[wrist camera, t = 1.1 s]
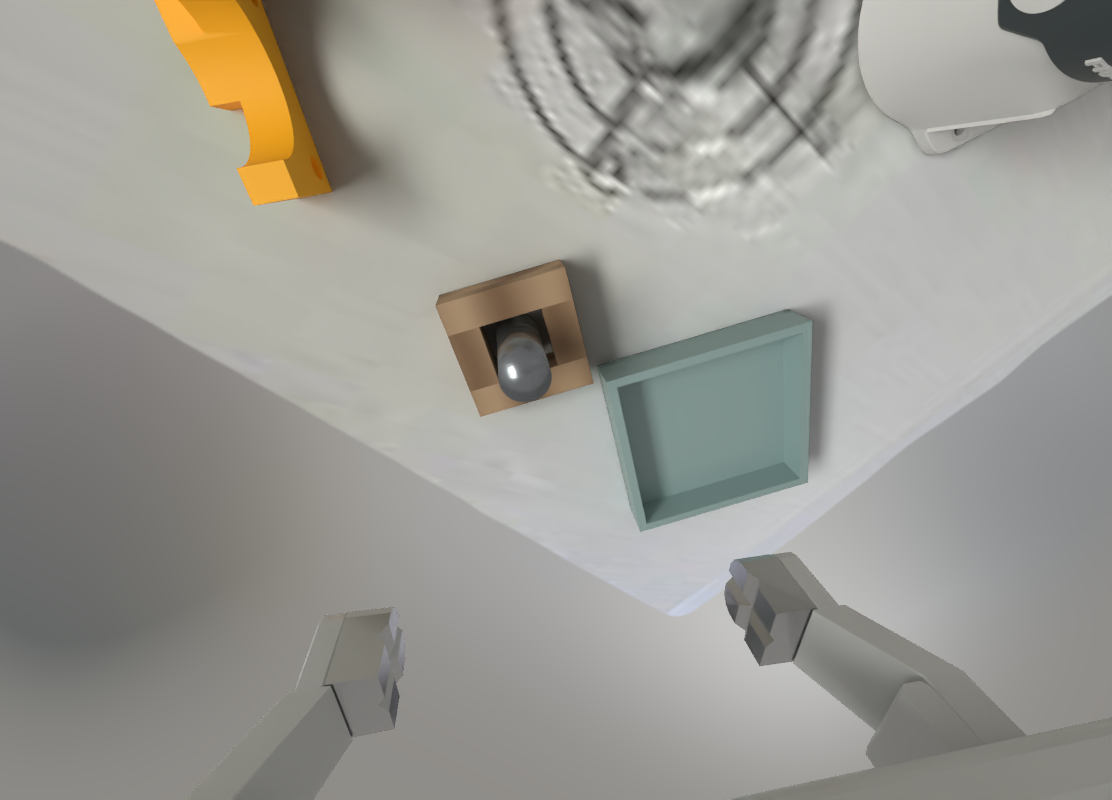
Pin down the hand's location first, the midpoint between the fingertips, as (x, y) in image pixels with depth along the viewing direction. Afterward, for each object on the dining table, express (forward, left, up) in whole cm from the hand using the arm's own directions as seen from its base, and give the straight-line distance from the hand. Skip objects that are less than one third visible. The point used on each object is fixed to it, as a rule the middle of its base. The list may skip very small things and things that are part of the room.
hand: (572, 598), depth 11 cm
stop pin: (+1, +3, -29) cm, 29 cm away
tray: (-14, +17, -29) cm, 37 cm away
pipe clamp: (+12, -17, -29) cm, 36 cm away
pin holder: (+1, +3, -29) cm, 29 cm away
